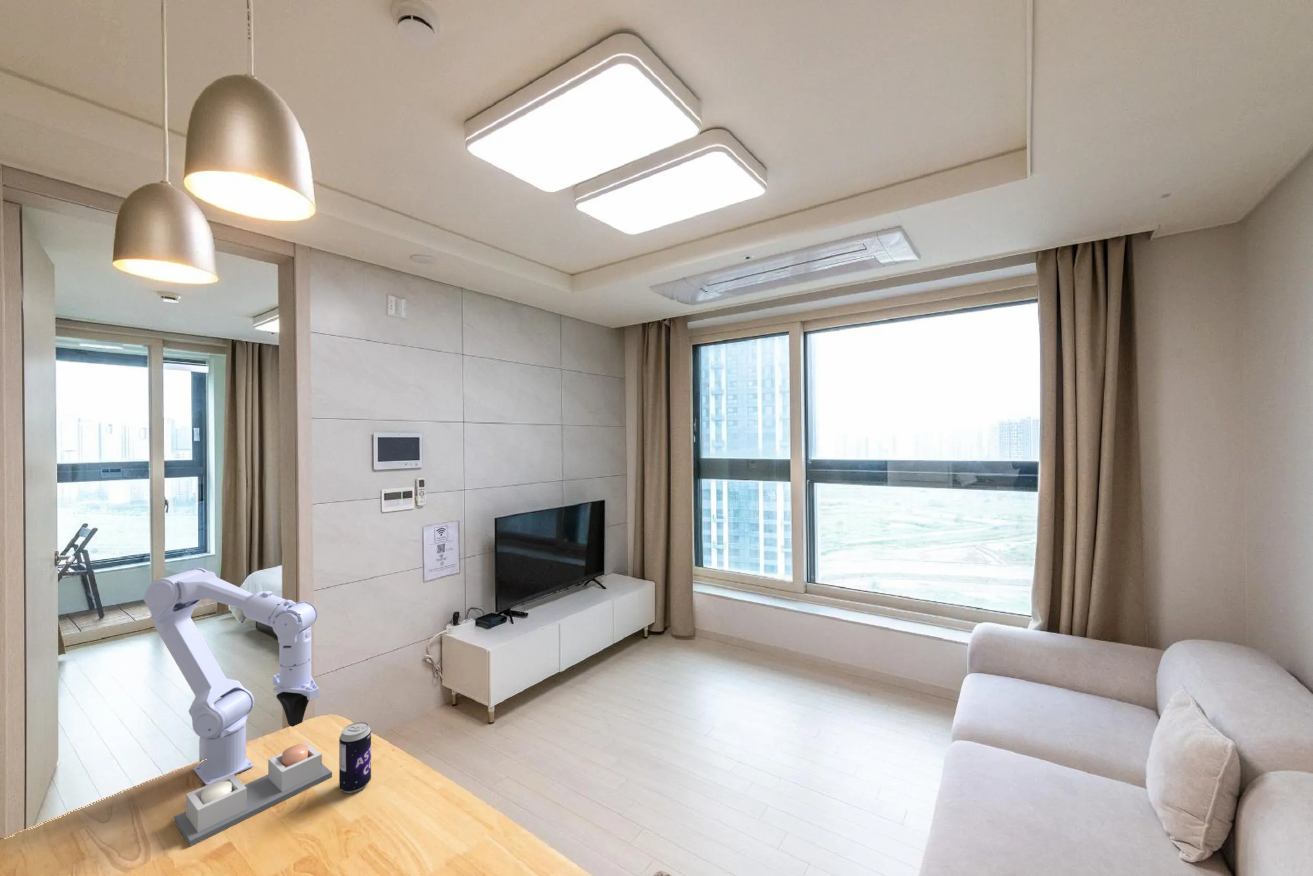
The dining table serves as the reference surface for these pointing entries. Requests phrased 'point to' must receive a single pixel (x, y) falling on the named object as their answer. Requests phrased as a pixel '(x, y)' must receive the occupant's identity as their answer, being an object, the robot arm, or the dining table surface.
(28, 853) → the dining table surface
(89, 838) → the dining table surface
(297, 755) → the terracotta plug
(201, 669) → the robot arm
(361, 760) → the beverage can
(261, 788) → the plug panel
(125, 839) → the dining table surface
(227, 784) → the cream plug
